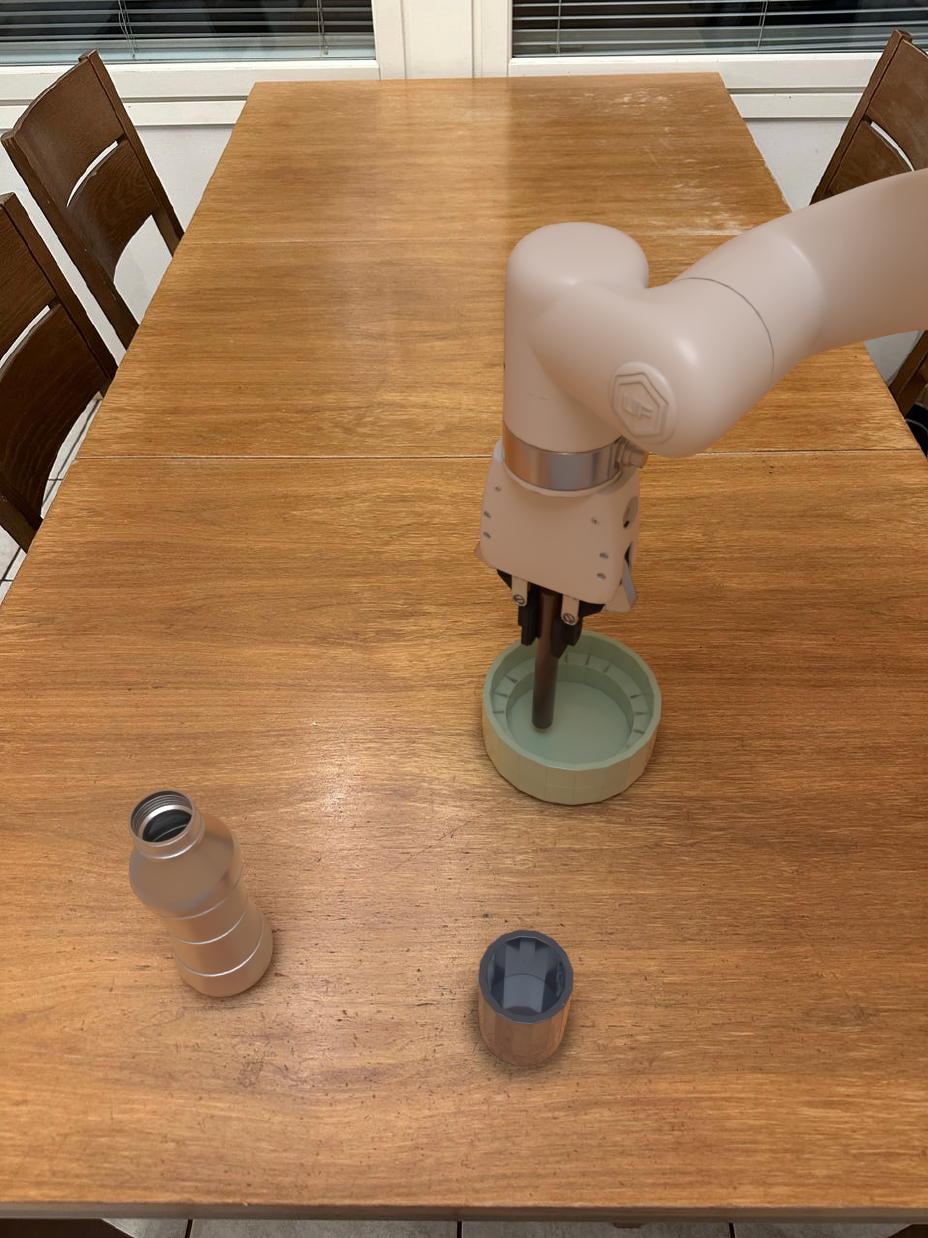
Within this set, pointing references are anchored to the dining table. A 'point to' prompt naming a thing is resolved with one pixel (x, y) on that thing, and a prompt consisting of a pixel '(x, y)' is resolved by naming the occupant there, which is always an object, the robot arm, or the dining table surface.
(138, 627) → the dining table surface
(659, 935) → the dining table surface
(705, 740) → the dining table surface
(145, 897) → the plastic bottle
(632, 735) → the bowl
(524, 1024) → the utensil pot
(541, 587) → the stirring stick
